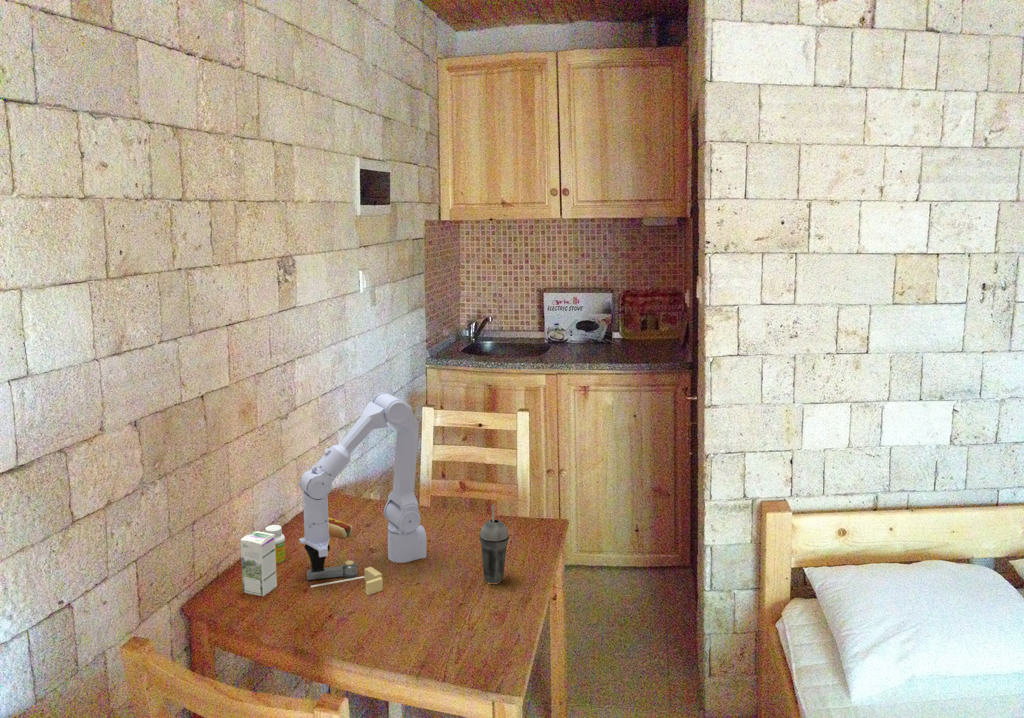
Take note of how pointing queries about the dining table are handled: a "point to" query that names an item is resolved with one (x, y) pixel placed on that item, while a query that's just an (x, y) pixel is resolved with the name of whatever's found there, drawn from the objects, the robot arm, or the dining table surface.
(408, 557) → the robot arm
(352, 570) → the latch bar
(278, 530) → the supplement bottle
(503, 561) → the beverage cup
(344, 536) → the food
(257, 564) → the syrup box
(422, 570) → the dining table surface
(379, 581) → the board
